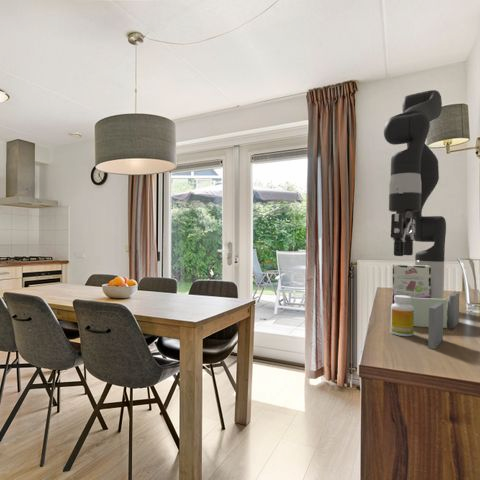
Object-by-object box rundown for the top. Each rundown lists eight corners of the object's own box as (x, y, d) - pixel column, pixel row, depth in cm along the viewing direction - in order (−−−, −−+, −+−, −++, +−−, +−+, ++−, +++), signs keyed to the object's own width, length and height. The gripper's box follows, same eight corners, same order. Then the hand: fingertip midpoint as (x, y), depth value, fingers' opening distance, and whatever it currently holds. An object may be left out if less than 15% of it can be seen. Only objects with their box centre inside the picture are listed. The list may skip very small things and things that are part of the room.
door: (444, 326, 98) (445, 299, 98) (446, 327, 97) (447, 299, 97) (394, 323, 100) (395, 296, 100) (396, 324, 99) (396, 297, 99)
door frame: (453, 321, 106) (454, 291, 106) (459, 322, 105) (460, 292, 105) (427, 347, 79) (428, 307, 79) (435, 349, 78) (436, 308, 78)
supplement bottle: (416, 337, 87) (416, 298, 87) (393, 335, 88) (393, 297, 88) (410, 332, 93) (410, 295, 93) (388, 330, 94) (389, 294, 94)
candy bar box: (428, 315, 114) (429, 265, 114) (430, 318, 110) (431, 266, 110) (391, 312, 119) (392, 263, 119) (391, 315, 114) (392, 264, 114)
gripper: (397, 196, 98) (396, 254, 98) (381, 190, 87) (379, 255, 87) (427, 195, 94) (425, 255, 94) (413, 188, 83) (412, 257, 83)
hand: (403, 255), depth 91 cm, fingers open, 8 cm apart
